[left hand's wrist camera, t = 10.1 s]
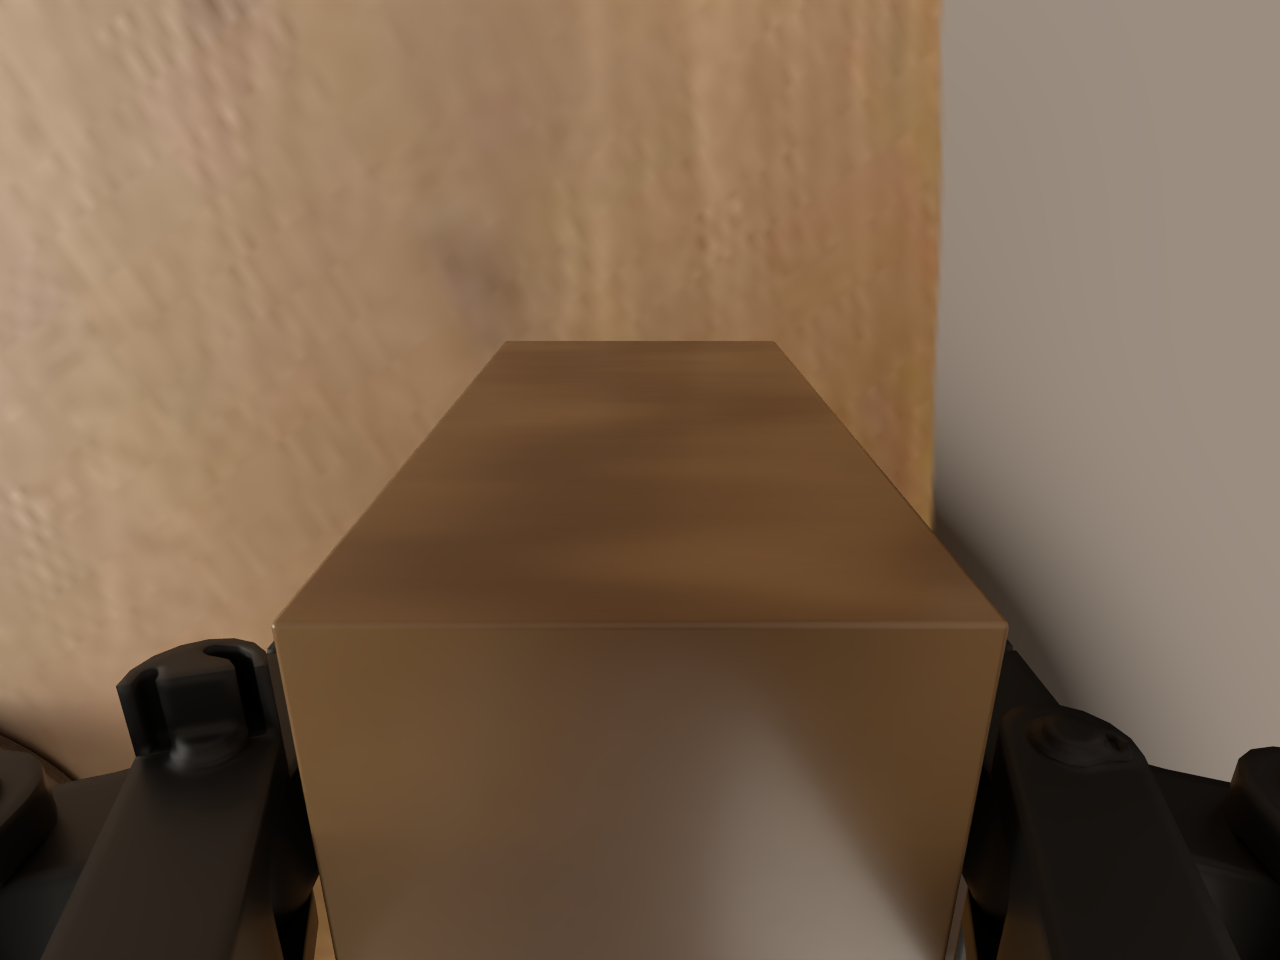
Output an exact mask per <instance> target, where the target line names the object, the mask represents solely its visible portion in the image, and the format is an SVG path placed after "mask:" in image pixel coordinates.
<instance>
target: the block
mask: <svg viewBox="0 0 1280 960" xmlns="http://www.w3.org/2000/svg"><path fill="white" fill-rule="evenodd" d="M1008 630H1009V626H1008V622H1007V621H1006V619H1005V618H1004V617H1003V616H1002V615H1001V613H1000V612H999V611H998V610H997V609H996V607H995V606H994V605H993V604H992V603H991V601H990V600H989V599H988V598H987V597H986V595H985V594H984V593H983V592H982V591H981V589H980V588H979V587H978V586H977V585H976V583H975V582H974V581H973V580H972V579H971V577H970V576H969V575H968V574H967V573H966V571H965V570H964V569H963V568H962V566H961V565H960V564H959V563H958V562H957V560H956V559H955V558H954V557H953V556H952V554H951V553H950V552H949V551H948V550H947V548H946V547H945V546H944V545H943V544H942V542H941V541H940V540H939V539H938V538H937V536H936V535H935V534H934V533H933V532H932V530H931V529H930V528H929V527H928V526H927V524H926V523H925V522H924V521H923V520H922V518H921V517H920V516H919V515H918V514H917V512H916V511H915V510H914V509H913V508H912V506H911V505H910V504H909V503H908V502H907V500H906V499H905V498H904V497H903V496H902V494H901V493H900V492H899V491H898V490H897V488H896V487H895V486H894V485H893V484H892V482H891V481H890V480H889V479H888V478H887V476H886V475H885V474H884V473H883V471H882V470H881V469H880V468H879V467H878V465H877V464H876V463H875V462H874V461H873V459H872V458H871V457H870V456H869V455H868V453H867V452H866V451H865V450H864V449H863V447H862V446H861V445H860V444H859V443H858V441H857V440H856V439H855V438H854V437H853V435H852V434H851V433H850V432H849V431H848V429H847V428H846V427H845V426H844V425H843V423H842V422H841V421H840V420H839V419H838V417H837V416H836V415H835V414H834V413H833V411H832V410H831V409H830V408H829V407H828V405H827V404H826V403H825V402H824V401H823V399H822V398H821V397H820V396H819V395H818V393H817V392H816V391H815V390H814V389H813V387H812V386H811V385H810V384H809V383H808V381H807V380H806V379H805V378H804V376H803V375H802V374H801V373H800V372H799V370H798V369H797V368H796V367H795V366H794V364H793V363H792V362H791V361H790V360H789V358H788V357H787V356H786V355H785V354H784V352H783V351H782V350H781V349H780V348H779V346H778V345H777V344H776V343H775V342H774V341H506V342H505V343H504V344H503V345H502V347H501V348H500V349H499V350H498V351H497V353H496V354H495V355H494V356H493V358H492V359H491V360H490V361H489V362H488V364H487V365H486V366H485V367H484V368H483V370H482V371H481V372H480V373H479V374H478V376H477V377H476V378H475V379H474V380H473V382H472V383H471V384H470V385H469V386H468V388H467V389H466V390H465V391H464V392H463V394H462V395H461V396H460V397H459V398H458V400H457V401H456V402H455V403H454V404H453V406H452V407H451V408H450V409H449V411H448V412H447V413H446V414H445V415H444V417H443V418H442V419H441V420H440V421H439V423H438V424H437V425H436V426H435V427H434V429H433V430H432V431H431V432H430V433H429V435H428V436H427V437H426V438H425V439H424V441H423V442H422V443H421V444H420V445H419V447H418V448H417V449H416V450H415V451H414V453H413V454H412V455H411V456H410V457H409V459H408V460H407V461H406V462H405V464H404V465H403V466H402V467H401V468H400V470H399V471H398V472H397V473H396V474H395V476H394V477H393V478H392V479H391V480H390V482H389V483H388V484H387V485H386V486H385V488H384V489H383V490H382V491H381V492H380V494H379V495H378V496H377V497H376V498H375V500H374V501H373V502H372V503H371V504H370V506H369V507H368V508H367V509H366V510H365V512H364V513H363V514H362V515H361V517H360V518H359V519H358V520H357V521H356V523H355V524H354V525H353V526H352V527H351V529H350V530H349V531H348V532H347V533H346V535H345V536H344V537H343V538H342V539H341V541H340V542H339V543H338V544H337V545H336V547H335V548H334V549H333V550H332V551H331V553H330V554H329V555H328V556H327V557H326V559H325V560H324V561H323V562H322V563H321V565H320V566H319V567H318V568H317V570H316V571H315V572H314V573H313V574H312V576H311V577H310V578H309V579H308V580H307V582H306V583H305V584H304V585H303V586H302V588H301V589H300V590H299V591H298V592H297V594H296V595H295V596H294V597H293V598H292V600H291V601H290V602H289V603H288V604H287V606H286V607H285V608H284V609H283V610H282V612H281V613H280V614H279V615H278V616H277V618H276V619H275V620H274V621H273V624H272V632H273V637H274V642H275V647H276V652H277V658H278V663H279V668H280V673H281V678H282V683H283V689H284V694H285V699H286V704H287V709H288V715H289V720H290V725H291V730H292V735H293V741H294V746H295V751H296V756H297V761H298V766H299V772H300V777H301V782H302V787H303V792H304V798H305V803H306V808H307V813H308V818H309V823H310V829H311V834H312V839H313V844H314V849H315V855H316V860H317V865H318V870H319V875H320V881H321V886H322V891H323V896H324V901H325V906H326V912H327V917H328V922H329V927H330V932H331V938H332V943H333V948H334V953H335V958H336V960H945V956H946V950H947V945H948V940H949V935H950V930H951V924H952V919H953V914H954V909H955V904H956V899H957V893H958V888H959V883H960V878H961V873H962V868H963V862H964V857H965V852H966V847H967V842H968V837H969V831H970V826H971V821H972V816H973V811H974V805H975V800H976V795H977V790H978V785H979V780H980V774H981V769H982V764H983V759H984V754H985V749H986V743H987V738H988V733H989V728H990V723H991V718H992V712H993V707H994V702H995V697H996V692H997V686H998V681H999V676H1000V671H1001V666H1002V661H1003V655H1004V650H1005V645H1006V640H1007V635H1008Z"/></svg>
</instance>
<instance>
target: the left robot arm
mask: <svg viewBox="0 0 1280 960" xmlns="http://www.w3.org/2000/svg"><path fill="white" fill-rule="evenodd" d="M1012 647H1013V646H1012V645H1011V644H1010V642H1009V641H1008V640H1006V645H1005V650H1004V655H1003V661H1002V666H1001V671H1000V676H999V681H998V686H997V692H996V697H995V702H994V707H993V712H992V718H991V723H990V728H989V733H988V738H987V743H986V749H985V754H984V759H983V764H982V769H981V774H980V780H979V785H978V790H977V795H976V800H975V805H974V811H973V816H972V821H971V826H970V831H969V837H968V842H967V847H966V852H965V857H964V862H963V868H962V875H963V877H964V879H965V881H966V883H967V885H968V887H967V892H966V897H965V902H964V907H963V912H962V917H961V922H960V928H959V933H958V938H957V943H956V948H955V953H954V959H953V960H1280V747H1274V746H1273V747H1265V748H1257V749H1251V750H1249V751H1248V752H1247V753H1246V754H1244V755H1243V756H1242V757H1241V758H1239V760H1238V763H1237V766H1236V769H1235V771H1234V774H1233V777H1232V780H1231V783H1230V782H1225V781H1221V780H1216V779H1211V778H1206V777H1201V776H1196V775H1192V774H1187V773H1182V772H1177V771H1172V770H1168V769H1163V768H1160V767H1156V766H1152V765H1149V764H1148V763H1147V761H1146V758H1145V756H1144V755H1143V754H1142V752H1141V751H1140V750H1139V748H1138V747H1137V746H1136V744H1135V743H1134V742H1133V741H1132V739H1131V738H1129V737H1128V736H1127V735H1125V734H1124V733H1123V732H1121V731H1120V730H1118V729H1117V728H1116V727H1114V726H1113V725H1111V724H1110V723H1108V722H1106V721H1104V720H1102V719H1100V718H1097V717H1095V716H1093V715H1091V714H1089V713H1086V712H1084V711H1081V710H1077V709H1073V708H1069V707H1065V706H1061V705H1059V704H1058V702H1057V701H1056V700H1055V699H1054V697H1053V696H1052V695H1051V694H1050V692H1049V691H1048V690H1047V689H1046V687H1045V686H1044V685H1043V684H1042V682H1041V681H1040V680H1039V679H1038V677H1037V676H1036V675H1035V674H1034V672H1033V671H1032V670H1031V669H1030V667H1029V666H1028V665H1027V664H1026V662H1025V661H1024V660H1023V659H1022V657H1021V656H1020V655H1019V654H1018V652H1017V651H1013V648H1012ZM267 650H268V651H267V654H266V652H265V651H264V650H263V649H262V648H260V647H259V646H258V645H257V644H255V643H254V642H249V641H244V640H240V639H235V638H231V639H208V640H203V641H199V642H194V643H190V644H185V645H181V646H178V647H175V648H173V649H170V650H168V651H165V652H163V653H160V654H158V655H155V656H153V657H151V658H150V659H148V660H146V661H145V662H143V663H142V664H140V665H138V666H137V667H135V668H134V669H132V670H130V671H129V673H128V674H127V675H126V676H125V677H124V678H123V679H122V680H121V681H120V682H119V684H118V685H117V686H116V688H117V692H118V695H119V699H120V702H121V706H122V709H123V713H124V716H125V720H126V723H127V727H128V730H129V734H130V737H131V741H132V744H133V748H134V752H135V755H136V758H135V760H134V762H133V764H132V766H131V768H129V769H126V770H122V771H118V772H115V773H110V774H105V775H100V776H96V777H91V778H86V779H81V780H76V781H72V780H71V779H69V778H68V777H67V776H66V775H65V774H63V773H62V772H61V771H60V770H58V769H57V768H56V767H54V766H53V765H51V764H50V763H49V762H47V761H46V760H44V759H43V758H41V757H40V756H38V755H37V754H35V753H33V752H32V751H30V750H29V749H27V748H25V747H23V746H21V745H19V744H17V743H16V742H14V741H12V740H10V739H8V738H5V737H3V736H1V735H0V960H314V954H315V946H316V938H317V930H318V916H317V908H316V902H315V897H314V892H313V886H314V884H315V882H316V880H317V878H318V875H319V870H318V865H317V860H316V855H315V849H314V844H313V839H312V834H311V829H310V823H309V818H308V813H307V808H306V803H305V798H304V792H303V787H302V782H301V777H300V772H299V766H298V761H297V756H296V751H295V746H294V741H293V735H292V730H291V725H290V720H289V715H288V709H287V704H286V699H285V694H284V689H283V683H282V678H281V673H280V668H279V663H278V658H277V652H276V647H275V642H274V641H273V643H272V644H271V645H270V646H269V648H268V649H267Z"/></svg>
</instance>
